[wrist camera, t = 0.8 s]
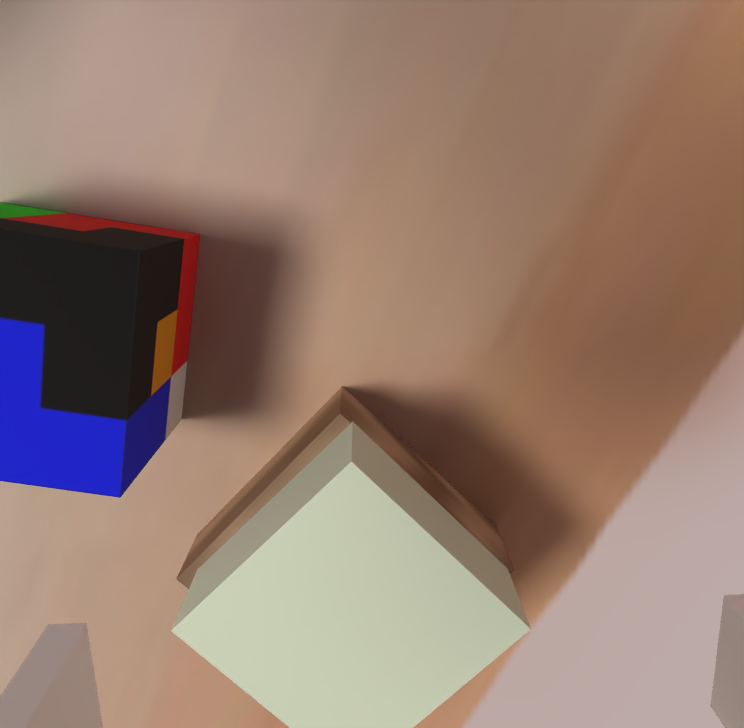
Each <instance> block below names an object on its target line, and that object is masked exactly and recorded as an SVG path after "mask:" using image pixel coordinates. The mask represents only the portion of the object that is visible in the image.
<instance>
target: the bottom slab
mask: <svg viewBox="0 0 744 728" xmlns="http://www.w3.org/2000/svg"><path fill="white" fill-rule="evenodd" d="M352 422H354V423H355V424H356V425H357V426H358V427H359V428H360V429H361V430H362V431H363V432H364V433H365V434H366V435H367V436H368V437H370V438H371V439H372V440H373V441H374V442H375V443H376V444H377V445H378V446H379V447H380V448H381V449H382V450H383V451H384V452H385V453H386V454H387V455H388V456H390V457H391V458H392V459H393V460H394V461H395V462H396V463H397V464H398V465H399V466H400V467H401V468H402V469H403V470H404V471H405V472H406V473H407V474H408V475H410V476H411V477H412V478H413V479H414V480H415V481H416V482H417V483H418V484H419V485H420V486H421V487H422V488H423V489H424V490H425V491H426V492H427V493H428V494H430V495H431V496H432V497H433V498H434V499H435V500H436V501H437V502H438V503H439V504H440V505H441V506H442V507H443V508H444V509H445V510H446V511H447V512H449V513H450V514H451V515H452V516H453V517H454V518H455V519H456V520H457V521H458V522H459V523H460V524H461V525H462V526H463V527H464V528H465V529H466V530H467V531H469V532H470V533H471V534H472V535H473V536H474V537H475V538H476V539H477V540H478V541H479V542H480V543H481V544H482V545H483V546H484V547H485V548H486V549H488V550H489V551H490V552H491V553H492V554H493V555H494V556H495V557H496V558H497V559H498V560H499V561H500V562H501V563H502V564H503V565H504V566H505V567H506V568H507V569H508V571H509V573H510V572H511V571H513V570H514V569H513V566H512V564H511V561H510V559H509V556H508V554H507V551H506V549H505V546H504V544H503V541H502V539H501V537H500V534H499V532H498V529H497V527H496V526H495V525H494V524H493V523H492V522H491V521H490V520H489V519H488V518H487V517H486V516H484V515H483V514H482V513H481V512H480V511H479V510H478V509H477V508H476V507H475V506H473V505H472V504H471V503H470V502H469V501H468V500H467V499H466V498H465V497H464V496H462V495H461V494H460V493H459V492H458V491H457V490H456V489H455V488H454V487H452V486H451V485H450V484H449V483H448V482H447V481H446V480H445V479H444V478H443V477H441V476H440V475H439V474H438V473H437V472H436V471H435V470H434V469H433V468H432V467H430V466H429V465H428V464H427V463H426V462H425V461H424V460H423V459H422V458H421V457H419V456H418V455H417V454H416V453H415V452H414V451H413V450H412V449H411V448H409V447H408V446H407V445H406V444H405V443H404V442H403V441H402V440H401V439H400V438H398V437H397V436H396V435H395V434H394V433H393V432H392V431H391V430H390V429H389V428H387V427H386V426H385V425H384V424H383V423H382V422H381V421H380V420H379V419H378V418H376V417H375V416H374V415H373V414H372V413H371V412H370V411H369V410H368V409H366V408H365V407H364V406H363V405H362V404H361V403H360V402H359V401H358V400H357V399H355V398H354V397H353V396H352V395H351V394H350V393H349V392H348V391H347V390H346V389H344V388H343V387H341V388H340V389H339V390H338V391H337V392H336V393H335V395H334V396H333V397H332V398H331V399H330V400H329V401H328V402H327V403H326V404H325V405H324V406H323V407H322V408H321V409H320V410H319V411H318V412H317V413H316V414H315V415H314V416H313V417H312V418H311V419H310V420H309V421H308V422H307V423H306V424H305V425H304V426H303V427H302V428H301V429H300V430H299V431H298V432H297V433H296V434H295V435H294V436H293V437H292V438H291V439H290V440H289V441H288V442H287V444H286V445H285V446H284V447H283V448H282V449H281V450H280V451H279V452H278V453H277V454H276V455H275V456H274V457H273V458H272V459H271V460H270V461H269V462H268V463H267V464H266V465H265V466H264V467H263V468H262V469H261V470H260V471H259V472H258V473H257V474H256V475H255V476H254V477H253V478H252V479H251V480H250V481H249V482H248V483H247V484H246V485H245V486H244V487H243V488H242V489H241V490H240V491H239V493H238V494H237V495H236V496H235V497H234V498H233V499H232V500H231V501H230V502H229V503H228V504H227V505H226V506H225V507H224V508H223V509H222V510H221V511H220V512H219V513H218V514H217V515H216V516H215V517H214V518H213V519H212V520H211V521H210V522H209V523H208V524H207V525H206V526H205V527H204V528H203V529H202V530H201V531H200V532H199V533H198V534H197V536H196V539H195V541H194V543H193V545H192V547H191V549H190V551H189V553H188V555H187V558H186V560H185V562H184V564H183V566H182V568H181V570H180V572H179V575H178V577H177V580H178V581H179V582H181V583H182V584H183V585H184V586H186V587H187V588H188V589H189V588H190V585H191V583H192V581H193V578H194V576H195V574H196V571H197V569H198V568H199V567H200V566H201V565H203V564H204V563H205V562H206V561H207V560H208V559H209V558H210V557H211V556H212V555H213V554H214V553H215V552H216V551H217V550H218V549H219V548H220V547H221V546H223V545H224V544H225V543H226V542H227V541H228V540H229V539H230V538H231V537H232V536H233V535H234V534H235V533H236V532H237V531H238V530H239V529H240V528H241V527H242V526H244V525H245V524H246V523H247V522H248V521H249V520H250V519H251V518H252V517H253V516H254V515H255V514H256V513H257V512H258V511H259V510H260V509H261V508H262V507H264V506H265V505H266V504H267V503H268V502H269V501H270V500H271V499H272V498H273V497H274V496H275V495H276V494H277V493H278V492H279V491H280V490H281V489H282V488H284V487H285V486H286V485H287V484H288V483H289V482H290V481H291V480H292V479H293V478H294V477H295V476H296V475H297V474H298V473H299V472H300V471H301V470H302V469H303V468H305V467H306V466H307V465H308V464H309V463H310V462H311V461H312V460H313V459H314V458H315V457H316V456H317V455H318V454H319V453H320V452H321V451H322V450H323V449H325V448H326V447H327V446H328V445H329V444H330V443H331V442H332V441H333V440H334V439H335V438H336V437H337V436H338V435H339V434H340V433H341V432H342V431H343V430H345V429H346V428H347V427H348V426H349V425H350V424H351V423H352Z"/></svg>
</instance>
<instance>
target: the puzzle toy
mask: <svg viewBox="0 0 744 728" xmlns="http://www.w3.org/2000/svg"><path fill="white" fill-rule="evenodd" d="M199 240H200V234H194V233H188V232H182V231H176V230H170V229H163V228H157V227H151V226H145V225H138V224H132V223H126V222H120V221H113V220H107V219H101V218H95V217H88V216H82V215H76V214H70V213H64V212H57V211H51V210H45V209H39V208H32V207H26V206H20V205H14V204H7V203H1V202H0V481H5V482H12V483H20V484H27V485H34V486H41V487H48V488H56V489H63V490H70V491H77V492H84V493H91V494H99V495H106V496H113V497H121V496H122V495H123V493H124V492H125V491H126V489H127V488H128V487H129V486H130V484H131V483H132V482H133V481H134V479H135V478H136V477H137V475H138V474H139V473H140V472H141V470H142V469H143V468H144V467H145V465H146V464H147V463H148V461H149V460H150V459H151V458H152V456H153V455H154V454H155V452H156V451H157V450H158V449H159V447H160V446H161V445H162V444H163V442H164V441H165V440H166V438H167V437H168V436H169V435H170V433H171V432H172V431H173V429H174V428H175V427H176V426H177V424H178V423H179V422H180V421H181V419H182V410H183V400H184V390H185V380H186V370H187V360H188V350H189V340H190V330H191V320H192V310H193V300H194V290H195V280H196V270H197V260H198V250H199Z"/></svg>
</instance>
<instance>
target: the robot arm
mask: <svg viewBox="0 0 744 728" xmlns="http://www.w3.org/2000/svg"><path fill="white" fill-rule="evenodd" d="M711 707H712V708H713V710H714V711H715V713H716V715H717V716H718V718H719V719H720V720H721V722H722V723H723V725H724V726H725V728H744V594H740V595H724V599H723V608H722V616H721V625H720V633H719V641H718V649H717V657H716V666H715V674H714V683H713V691H712V699H711ZM0 728H103V725H102V719H101V713H100V706H99V700H98V694H97V687H96V681H95V675H94V668H93V662H92V656H91V649H90V643H89V636H88V630H87V624H86V623H74V624H51V625H48V626H47V627H46V629H45V630H44V632H43V633H42V635H41V636H40V638H39V639H38V641H37V642H36V644H35V645H34V647H33V648H32V650H31V651H30V653H29V654H28V656H27V657H26V659H25V660H24V662H23V663H22V665H21V666H20V668H19V669H18V671H17V672H16V674H15V675H14V677H13V678H12V680H11V681H10V683H9V684H8V686H7V687H6V689H5V690H4V692H3V693H2V695H1V696H0Z"/></svg>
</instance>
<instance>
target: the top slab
mask: <svg viewBox="0 0 744 728" xmlns="http://www.w3.org/2000/svg"><path fill="white" fill-rule="evenodd" d="M530 629H531V628H530V625H529V623H528V620H527V618H526V615H525V613H524V610H523V607H522V605H521V602H520V600H519V597H518V594H517V592H516V589H515V587H514V584H513V582H512V579H511V576H510V574H509V571H508V569H507V568H506V567H505V566H504V565H503V564H502V563H501V562H500V561H499V560H498V559H497V558H496V557H495V556H494V555H493V554H492V553H491V552H490V551H489V550H488V549H486V548H485V547H484V546H483V545H482V544H481V543H480V542H479V541H478V540H477V539H476V538H475V537H474V536H473V535H472V534H471V533H470V532H469V531H467V530H466V529H465V528H464V527H463V526H462V525H461V524H460V523H459V522H458V521H457V520H456V519H455V518H454V517H453V516H452V515H451V514H450V513H449V512H447V511H446V510H445V509H444V508H443V507H442V506H441V505H440V504H439V503H438V502H437V501H436V500H435V499H434V498H433V497H432V496H431V495H430V494H428V493H427V492H426V491H425V490H424V489H423V488H422V487H421V486H420V485H419V484H418V483H417V482H416V481H415V480H414V479H413V478H412V477H411V476H410V475H408V474H407V473H406V472H405V471H404V470H403V469H402V468H401V467H400V466H399V465H398V464H397V463H396V462H395V461H394V460H393V459H392V458H391V457H390V456H388V455H387V454H386V453H385V452H384V451H383V450H382V449H381V448H380V447H379V446H378V445H377V444H376V443H375V442H374V441H373V440H372V439H371V438H370V437H368V436H367V435H366V434H365V433H364V432H363V431H362V430H361V429H360V428H359V427H358V426H357V425H356V424H355V423H354V422H352V423H351V424H350V425H349V426H348V427H347V428H346V429H345V430H343V431H342V432H341V433H340V434H339V435H338V436H337V437H336V438H335V439H334V440H333V441H332V442H331V443H330V444H329V445H328V446H327V447H326V448H325V449H323V450H322V451H321V452H320V453H319V454H318V455H317V456H316V457H315V458H314V459H313V460H312V461H311V462H310V463H309V464H308V465H307V466H306V467H305V468H303V469H302V470H301V471H300V472H299V473H298V474H297V475H296V476H295V477H294V478H293V479H292V480H291V481H290V482H289V483H288V484H287V485H286V486H285V487H284V488H282V489H281V490H280V491H279V492H278V493H277V494H276V495H275V496H274V497H273V498H272V499H271V500H270V501H269V502H268V503H267V504H266V505H265V506H264V507H262V508H261V509H260V510H259V511H258V512H257V513H256V514H255V515H254V516H253V517H252V518H251V519H250V520H249V521H248V522H247V523H246V524H245V525H244V526H242V527H241V528H240V529H239V530H238V531H237V532H236V533H235V534H234V535H233V536H232V537H231V538H230V539H229V540H228V541H227V542H226V543H225V544H224V545H223V546H221V547H220V548H219V549H218V550H217V551H216V552H215V553H214V554H213V555H212V556H211V557H210V558H209V559H208V560H207V561H206V562H205V563H204V564H203V565H201V566H200V567H199V568H198V569H197V571H196V574H195V576H194V578H193V581H192V583H191V585H190V588H189V590H188V592H187V595H186V597H185V599H184V602H183V604H182V606H181V609H180V611H179V613H178V615H177V618H176V620H175V622H174V625H173V627H172V629H171V631H172V632H173V633H174V634H175V635H177V636H178V637H179V638H180V639H182V640H183V641H184V642H185V643H187V644H188V645H189V646H190V647H191V648H193V649H194V650H195V651H196V652H198V653H199V654H200V655H201V656H202V657H204V658H205V659H206V660H207V661H209V662H210V663H211V664H212V665H213V666H215V667H216V668H217V669H218V670H220V671H221V672H222V673H223V674H225V675H226V676H227V677H228V678H229V679H231V680H232V681H233V682H234V683H236V684H237V685H238V686H239V687H240V688H242V689H243V690H244V691H245V692H247V693H248V694H249V695H250V696H251V697H253V698H254V699H255V700H256V701H258V702H259V703H260V704H261V705H263V706H264V707H265V708H266V709H267V710H269V711H270V712H271V713H272V714H274V715H275V716H276V717H277V718H278V719H280V720H281V721H282V722H283V723H285V724H286V725H287V726H288V727H289V728H413V727H414V726H415V725H417V724H418V723H419V722H420V721H421V720H423V719H424V718H425V717H426V716H427V715H429V714H430V713H431V712H432V711H433V710H435V709H436V708H437V707H438V706H439V705H441V704H442V703H443V702H444V701H445V700H446V699H448V698H449V697H450V696H451V695H452V694H454V693H455V692H456V691H457V690H458V689H460V688H461V687H462V686H463V685H464V684H466V683H467V682H468V681H469V680H470V679H472V678H473V677H474V676H475V675H476V674H478V673H479V672H480V671H481V670H482V669H484V668H485V667H486V666H487V665H488V664H490V663H491V662H492V661H493V660H494V659H496V658H497V657H498V656H499V655H500V654H502V653H503V652H504V651H505V650H506V649H508V648H509V647H510V646H511V645H512V644H514V643H515V642H516V641H517V640H518V639H520V638H521V637H522V636H523V635H524V634H526V633H527V632H528V631H529V630H530Z"/></svg>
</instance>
